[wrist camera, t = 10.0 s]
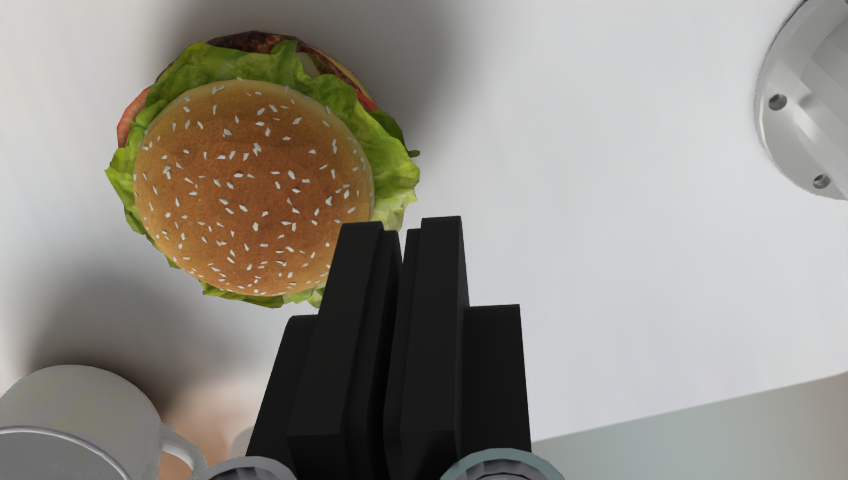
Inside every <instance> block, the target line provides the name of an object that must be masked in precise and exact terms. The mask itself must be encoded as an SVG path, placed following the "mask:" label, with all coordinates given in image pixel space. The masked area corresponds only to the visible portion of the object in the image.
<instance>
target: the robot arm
mask: <svg viewBox="0 0 848 480" xmlns="http://www.w3.org/2000/svg"><path fill="white" fill-rule="evenodd" d="M774 95H775V96H774ZM773 96H774V97H773ZM772 97H773V98H772ZM770 98H771V99H770ZM754 118H755V126H756V130H757V133H758V136H759V140H760V143H761V145H762V146H763V148H764V150H765V152H766V153H767V155H768V157H769V158H770V160H771V161H772V162H773V164H774V165H775V166H776V167H777V168H778V170H779V171H780V172H781V173H782V174H783V175H784V176H785V177H786V178H788V179H789V180H790V181H791V182H793V183H794V184H795V185H797V186H798V187H800V188H802V189H804V190H806V191H808V192H810V193H812V194H815V195H819V196H823V197H827V198H831V199H835V200H848V0H808V1H807V2H806V3H805V4H803V5H802V6H801V7H800V8H799V9H798V10H797V11H796V13H795V14H794V15H793V16H792V18H791V19H790V20H789V21H788V23H787V24H786V25H785V26H784V27H783V29H782V30H781V31H780V33H779V34H778V36H777V38H776V40H775V41H774V43H773V45H772V46H771V48H770V50H769V52H768V53H767V55H766V58H765V60H764V63H763V66H762V68H761V71H760V74H759V77H758V79H757V85H756V91H755V98H754ZM192 480H565V479H564V477H563V475H562V474H561V473H560V472H558V470H556V468H554V467H553V466H552V465H551V464H550V463H549V462H548V461H546V460H544V459H542V458H540V457H538V456H536V455H534V454H533V453H532V451H531V439H530V426H529V414H528V402H527V389H526V377H525V365H524V353H523V340H522V328H521V316H520V305H519V304H512V305H492V306H473V307H470V305H469V295H468V284H467V273H466V263H465V252H464V241H463V231H462V222H461V216H447V217H432V218H422V221H421V228H417V229H408V230H407V236H406V244H405V252H404V259H403V262H402V255H401V249H400V242H399V236H398V232H397V230H384V226H383V223H382V221H368V222H352V223H343V224H342V226H341V229H340V233H339V236H338V240H337V244H336V248H335V251H334V255H333V259H332V263H331V267H330V270H329V274H328V278H327V282H326V285H325V289H324V293H323V297H322V301H321V304H320V308H319V312H318V314H316V315H297V316H292V317H291V318H290V319H289V320H288V323H287V325H286V327H285V331H284V334H283V337H282V340H281V343H280V347H279V350H278V353H277V356H276V359H275V363H274V366H273V369H272V372H271V375H270V379H269V382H268V385H267V388H266V391H265V395H264V398H263V401H262V404H261V407H260V411H259V414H258V417H257V420H256V423H255V426H254V430H253V433H252V436H251V439H250V443H249V446H248V449H247V452H246V455H245V457H238V458H233V459H230V460H226V461H223V462H219V463H218V464H216V465H214V466H212V467H210V468H208V469H206V470H204V471H202V472H201V473H199V474H198V475H197V476H196V477H195V478H193V479H192Z"/></svg>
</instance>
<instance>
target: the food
mask: <svg viewBox="0 0 848 480" xmlns="http://www.w3.org/2000/svg"><path fill="white" fill-rule="evenodd" d="M117 137H118V149H117V151H116V152H115V154H114V156H113V159H112V162H110V167H109V168H108V169H106V170H104V171H105V172H106V174H107V176H108V178H109V180H110V182H111V184H112V185H113V187H114V189H115V190H116V192H117V194H118V195H119V197H120V199H121V200H122V202H123V204H124V210H125V216H126V220H127V222H128V224H129V225H130V227H131V228H132V229H133V231H135V232H138V233H140V234H142V235H143V234H145V235H146V237H147V239H148V240H149V241H150V242H151V243H153V246H154V247H155V248H156V249H158V250H159V251H161V252H163V253H164V254H165V256H166V258H167V260H168V263H169V265H170V267H174V268H177V269H183V270H184V271H186V272H187V273H189V274H190V275H192V276H193V277H195V278H197V279H198V280H199V281H200V283H201V285H202V286H203V287H204V289H205V291H203V295H209V296H218V297H223V298H227V299H231V300H242V301H245V302H249V303H253V304H256V305H260V306H264V307H269V308H280V307H281V306H282V305H283V304H288V303H289V302H291V301H293V302H294V303H296V304H297V303H300V302H302V301H304V300H307V301H308V302H309V303H310V304H311V305H313V306H314V307H315V308H320V304H321V301H322V297H323V293H324V289H325V285H326V282H327V278H328V274H329V270H330V267H331V263H332V259H333V255H334V251H335V248H336V244H337V240H338V236H339V233H340V229H341V226H342V224H343V223H352V222H368V221H382V223H383V226H384V230H397V232H399V230H400V229H401V227H402V222H403V216H404V210H405V208H406V206H407V205H408V203H411V202H415V201H417V198H416V196H415V193H414V187H415V186H416V184H417V183H418V182H419V177H420V171H419V168H418V167H417V166H416V165H415V164H413V163H412V161H411V159H410V158H411V157H417V156H419V154H420V151H417V150H412V151H408V150H407V148H406V147H405V144H404V139H403V135H402V131H401V129H400V128H399V126H398V125H397V123H396V122H395V120H394V119H393V118H392V117H390V116H389V115H388V114H386V113H385V112H383V111H382V110H381V109H378V108H377V107H376V104H375V102H374V101H373V99H372V98H371V97H370V95H369V94H368V92H367V91H366V90H365V88H364V87H363V85H362V84H361V83H360V81H359V80H358V79H357V78H356V77H355V76H354V75H353V74H352V72H351V71H350V70H348V69H347V68H346V67H344V66H343V65H342V64H340V63H339V62H337V61H336V60H334V59H332V58H330V57H329V56H327V55H325V54H324V53H322V52H320V51H319V50H317V49H315V48H313V47H310V46H308V45H307V44H305V43H304V42H302V41H300V40H299V39H297V38H296V37H292V36H285V35H278V34H272V33H265V32H259V31H249V32H244V33H238V34H233V35H228V36H223V37H218V38H214V39H212V40H210V41H207V42H204V41H200V42H197V43H195V44H192V45H190V46H188V47H187V48H186V49H185V50H184V51H183V52H182V54H181V55H180V56H178V57H177V58H176V59H175V60H174V61H173V62H172V63H171V64H169V65H168V67H167V68H166V69H165V70H164V71H163V72H161V73H160V75H159V76H158V78H157V79H156V81H155V83H154V84H153V85H151V86H150V87H148V88H146V89H145V90H143V91H142V93H141V94H140V95H139V96H138V97H137V98H136V99H135V100H134V101H133V102H132V103H131V104H130V105H129V106H128V107H127V108H126V110H125V112H124V114H123V116H122V118H121V120H120V122H119V124H118V126H117Z"/></svg>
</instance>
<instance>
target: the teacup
mask: <svg viewBox="0 0 848 480" xmlns="http://www.w3.org/2000/svg"><path fill="white" fill-rule="evenodd" d="M164 451H165V452H168V453H171V454H173V455H175V456H177V457H179V458H181V459H182V460H184V461H185V462H186V463H187V464H188V465H189V466H190V467H191V469H192V471H193V472H192V475H191V476H190V477H189V479H188V480H192V479H193V478H195V477H196V476H197V475H198V474H199V473H201V472H202V471H204V470H206V469H208V464H207V461H206V458H205V456H204V455H203V453H202V452H201V451H200V450H199V448H198V447H197V446H195V445H194V444H193V443H191V442H190V441H188V440H187V439H185V438H183V437H181V436H180V435H178V434H176V432H175V430H174V428H173V426H172V425H171V424H168V423H163V422H162V421H161V420H160V417H159V414H158V413H157V411H156V409H155V407H154V405H153V404H152V403H151V401H150V400H149V399H148V398H147V396H146V395H145V394H144V393H143V392H142V391H141V390H139V389H138V388H137V387H136V386H135V385H133V384H132V383H130V382H129V381H127V380H126V379H124V378H123V377H121V376H119V375H117V374H115V373H112V372H109V371H107V370H104V369H100V368H96V367H92V366H85V365H73V364H70V365H57V366H51V367H47V368H44V369H40V370H38V371H35V372H33V373H31V374H29V375H27V376H25V377H24V378H22V379H21V380H19V381H18V382H17V383H15V384H14V385H13V386H12V387H11V388H10V389H9V390H8V391H7V392H6V393H5V394H4V395H3V396H2V397H1V398H0V480H158V468H159V465H160V462H161V458H162V453H163V452H164Z"/></svg>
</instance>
